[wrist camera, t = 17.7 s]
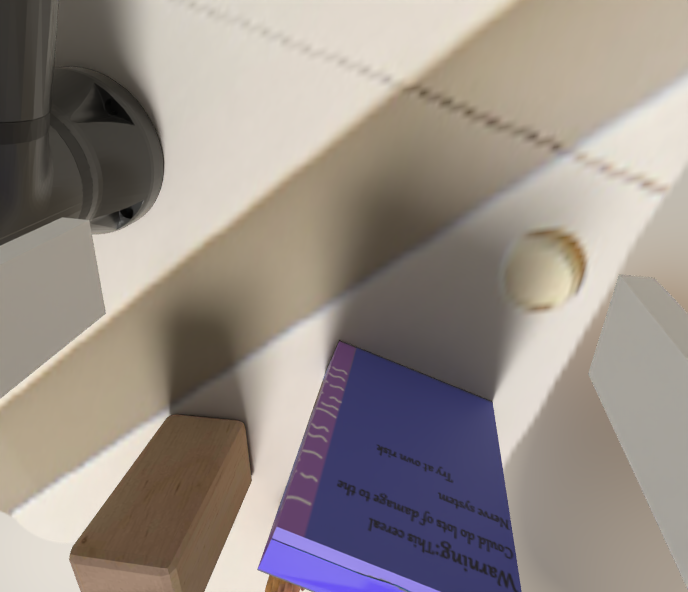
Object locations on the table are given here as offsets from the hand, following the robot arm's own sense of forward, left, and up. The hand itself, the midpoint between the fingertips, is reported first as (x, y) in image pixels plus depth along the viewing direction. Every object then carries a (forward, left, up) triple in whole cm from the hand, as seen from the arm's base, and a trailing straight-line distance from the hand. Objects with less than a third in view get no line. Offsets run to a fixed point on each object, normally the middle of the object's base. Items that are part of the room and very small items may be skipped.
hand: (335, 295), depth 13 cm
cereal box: (+3, -27, -35) cm, 44 cm away
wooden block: (-20, -40, -35) cm, 57 cm away
